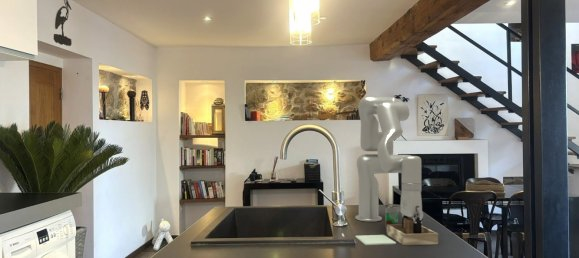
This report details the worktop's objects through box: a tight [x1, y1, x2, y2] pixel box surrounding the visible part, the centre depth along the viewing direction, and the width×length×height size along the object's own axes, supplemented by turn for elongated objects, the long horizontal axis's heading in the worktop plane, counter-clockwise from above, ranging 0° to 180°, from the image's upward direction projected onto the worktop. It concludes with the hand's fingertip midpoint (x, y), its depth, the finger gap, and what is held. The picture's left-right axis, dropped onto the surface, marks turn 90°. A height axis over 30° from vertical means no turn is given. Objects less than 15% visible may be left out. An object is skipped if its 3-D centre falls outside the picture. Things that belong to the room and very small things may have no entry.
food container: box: [384, 203, 401, 232], centre depth 177 cm, size 12×6×10 cm, turn 168°
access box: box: [386, 223, 439, 246], centre depth 160 cm, size 17×14×4 cm
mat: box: [355, 234, 397, 246], centre depth 157 cm, size 12×12×1 cm
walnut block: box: [404, 217, 414, 234], centre depth 160 cm, size 4×4×8 cm
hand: (411, 230), depth 159 cm, fingers open, 9 cm apart
